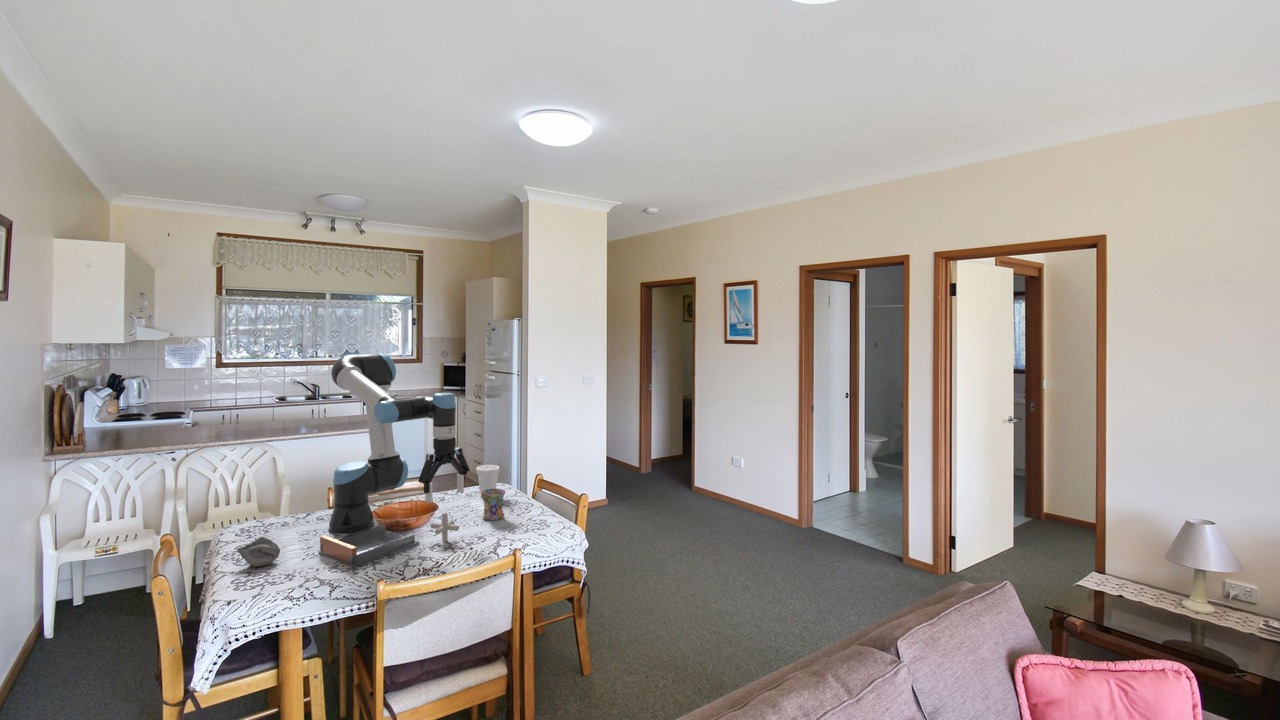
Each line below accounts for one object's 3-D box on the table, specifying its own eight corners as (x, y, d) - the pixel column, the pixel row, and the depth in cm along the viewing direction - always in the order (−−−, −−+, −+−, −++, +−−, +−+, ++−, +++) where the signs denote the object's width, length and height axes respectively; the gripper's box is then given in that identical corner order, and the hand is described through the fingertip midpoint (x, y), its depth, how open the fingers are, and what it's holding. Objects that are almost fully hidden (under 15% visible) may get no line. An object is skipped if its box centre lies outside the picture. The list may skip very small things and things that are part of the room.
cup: (472, 499, 256) (472, 469, 255) (482, 492, 266) (482, 464, 265) (494, 500, 254) (494, 471, 253) (503, 494, 264) (503, 465, 263)
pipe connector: (450, 547, 202) (450, 519, 202) (424, 544, 204) (424, 516, 204) (464, 537, 212) (464, 510, 211) (439, 534, 214) (439, 507, 213)
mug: (509, 518, 232) (509, 492, 231) (487, 523, 226) (487, 496, 225) (495, 510, 241) (495, 485, 240) (474, 515, 235) (474, 489, 235)
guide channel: (383, 531, 215) (383, 515, 215) (419, 543, 205) (418, 527, 204) (318, 553, 195) (318, 535, 195) (354, 568, 185) (353, 549, 184)
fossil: (239, 573, 179) (238, 548, 179) (237, 563, 186) (236, 538, 186) (281, 564, 186) (281, 540, 185) (278, 555, 193) (277, 531, 193)
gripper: (421, 444, 193) (422, 508, 194) (479, 432, 214) (479, 490, 215) (406, 442, 197) (407, 504, 198) (465, 430, 218) (465, 486, 219)
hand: (445, 497), depth 207 cm, fingers open, 13 cm apart
